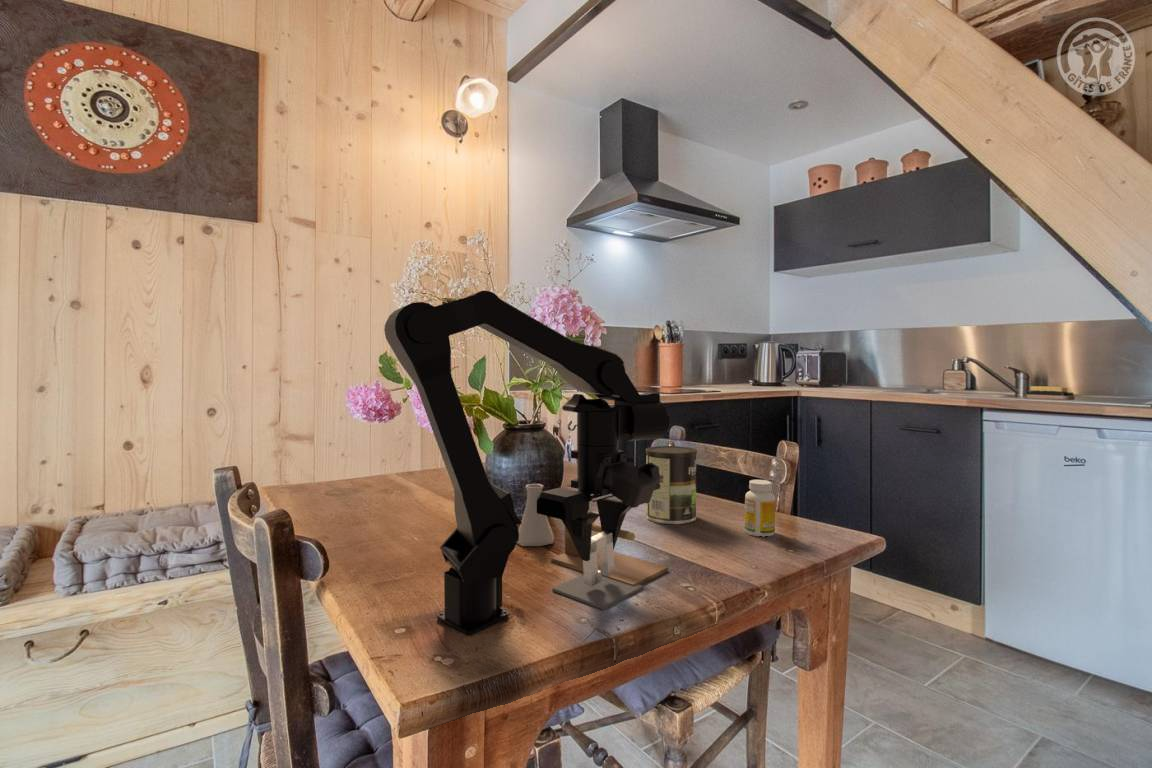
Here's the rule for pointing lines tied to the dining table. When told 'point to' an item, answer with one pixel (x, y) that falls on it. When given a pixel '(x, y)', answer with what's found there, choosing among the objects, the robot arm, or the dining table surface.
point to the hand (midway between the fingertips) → (597, 555)
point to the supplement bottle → (760, 509)
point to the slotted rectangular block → (605, 547)
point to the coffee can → (673, 485)
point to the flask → (534, 521)
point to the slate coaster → (597, 591)
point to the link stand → (624, 565)
